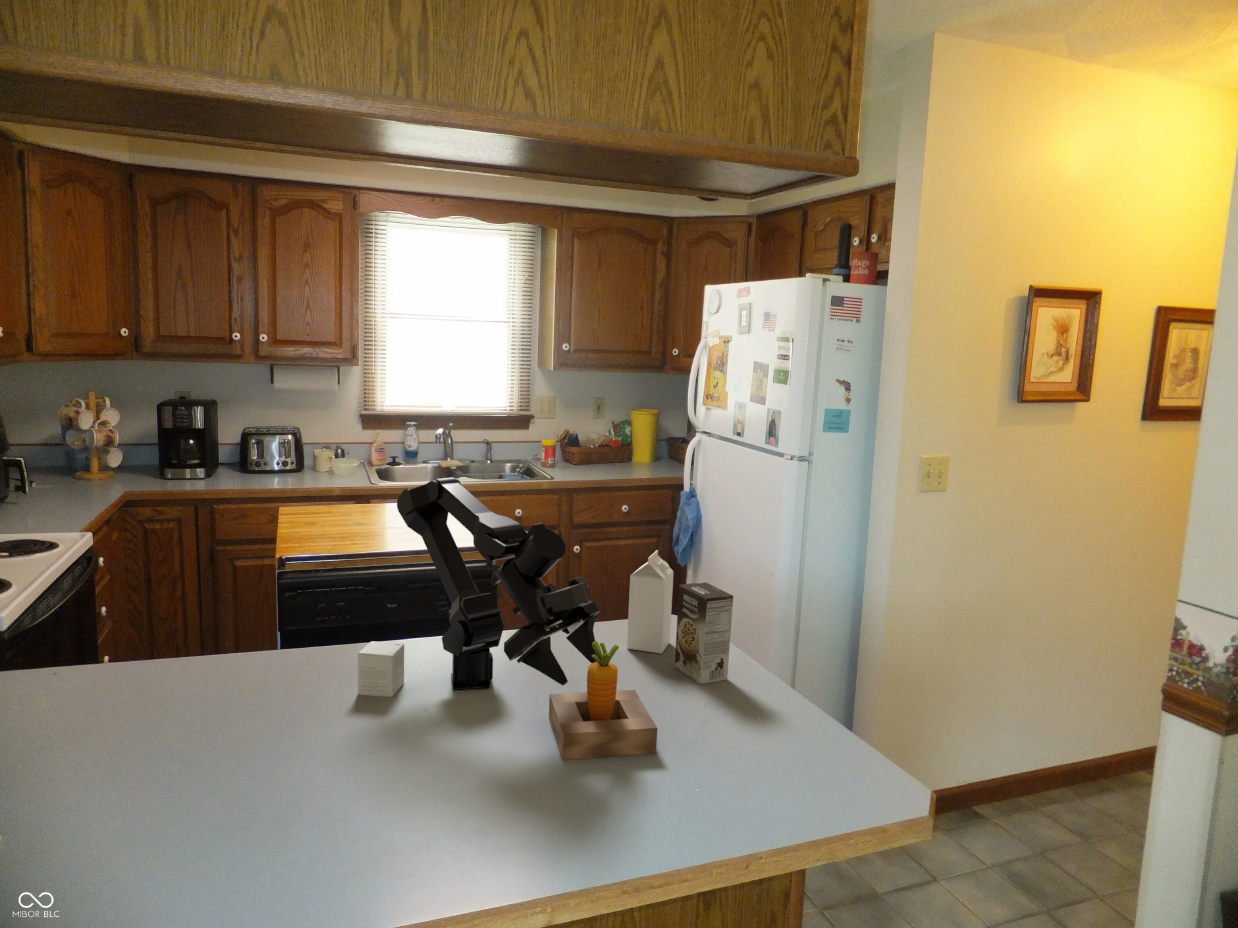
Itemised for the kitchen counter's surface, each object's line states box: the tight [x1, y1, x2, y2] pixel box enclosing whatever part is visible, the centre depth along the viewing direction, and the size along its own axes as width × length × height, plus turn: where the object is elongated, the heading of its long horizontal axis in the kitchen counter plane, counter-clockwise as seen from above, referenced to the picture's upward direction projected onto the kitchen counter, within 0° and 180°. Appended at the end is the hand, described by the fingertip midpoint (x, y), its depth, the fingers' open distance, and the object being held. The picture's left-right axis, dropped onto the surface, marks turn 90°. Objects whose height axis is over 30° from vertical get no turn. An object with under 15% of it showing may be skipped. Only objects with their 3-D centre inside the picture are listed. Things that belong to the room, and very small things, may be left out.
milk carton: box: [626, 549, 674, 654], centre depth 170 cm, size 7×7×19 cm
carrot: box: [586, 640, 620, 721], centre depth 131 cm, size 5×5×15 cm
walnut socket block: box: [548, 689, 658, 761], centre depth 132 cm, size 14×14×4 cm
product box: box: [357, 640, 405, 698], centre depth 145 cm, size 6×6×7 cm
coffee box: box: [674, 582, 734, 685], centre depth 157 cm, size 9×6×16 cm
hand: (582, 674), depth 133 cm, fingers open, 9 cm apart
